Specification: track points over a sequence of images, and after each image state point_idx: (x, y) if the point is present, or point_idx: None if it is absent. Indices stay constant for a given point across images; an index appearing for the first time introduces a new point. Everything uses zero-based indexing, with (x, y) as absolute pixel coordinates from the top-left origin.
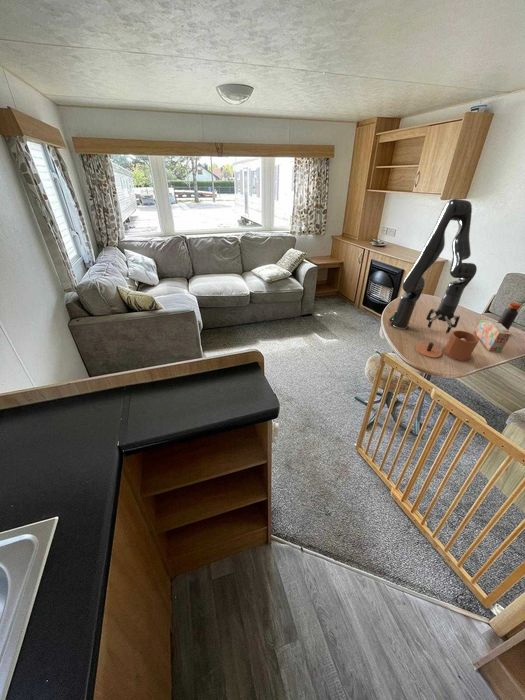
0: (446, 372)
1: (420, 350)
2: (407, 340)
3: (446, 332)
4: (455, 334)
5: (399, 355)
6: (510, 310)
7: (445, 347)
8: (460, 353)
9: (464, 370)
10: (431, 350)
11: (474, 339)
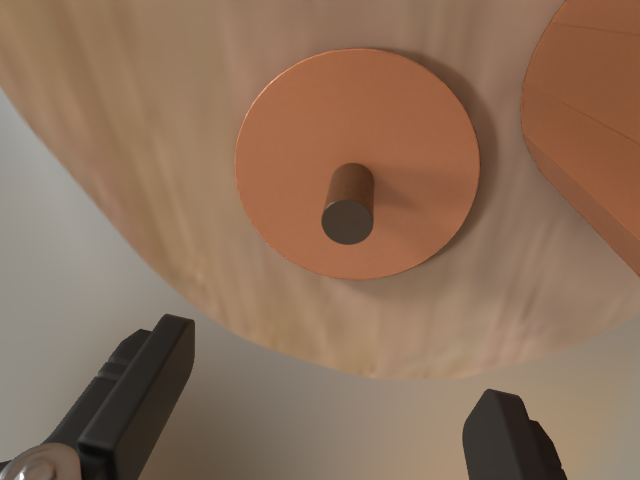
0: (465, 376)
1: (283, 222)
2: (137, 37)
3: (474, 454)
4: None
5: None
6: None
7: (540, 93)
8: None
9: (617, 319)
10: (379, 175)
11: None
